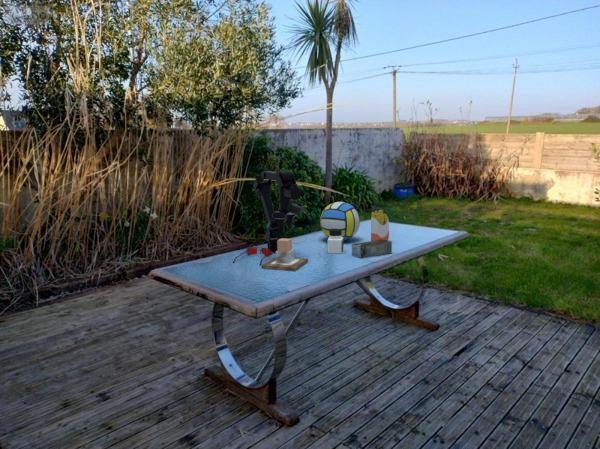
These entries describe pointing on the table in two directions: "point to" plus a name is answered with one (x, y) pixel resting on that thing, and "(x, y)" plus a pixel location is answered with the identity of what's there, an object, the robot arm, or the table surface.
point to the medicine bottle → (335, 241)
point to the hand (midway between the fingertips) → (286, 230)
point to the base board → (284, 267)
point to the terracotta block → (284, 245)
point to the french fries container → (379, 226)
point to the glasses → (254, 251)
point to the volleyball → (340, 219)
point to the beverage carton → (371, 248)
